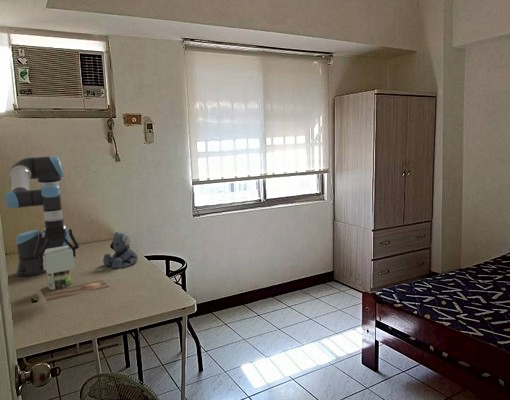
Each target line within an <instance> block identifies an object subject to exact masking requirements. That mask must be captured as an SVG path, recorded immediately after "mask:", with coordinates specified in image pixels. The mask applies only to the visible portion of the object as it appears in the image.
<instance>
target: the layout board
mask: <svg viewBox="0 0 510 400" xmlns="http://www.w3.org/2000/svg"><path fill="white" fill-rule="evenodd" d="M107 288H110V285H109V284H107V282H106V281H104V280H97V281H93V282H88V283H83V284H79V285H74V286H70V287H69V286H68V287H65V288H62V289H54V290H50V291H46V292H43V295H44V297H45V299H46V301H47V302H49V301H50V302H51V301H54V300H57V299H62V298H67V297H71V296H76V295H81V294H85V293H89V292H93V291H98V290H102V289H107Z"/></svg>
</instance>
